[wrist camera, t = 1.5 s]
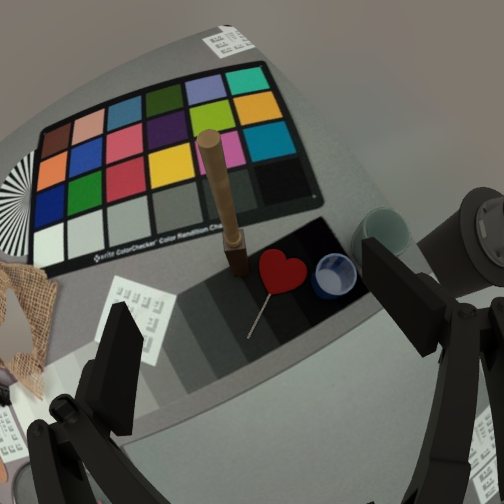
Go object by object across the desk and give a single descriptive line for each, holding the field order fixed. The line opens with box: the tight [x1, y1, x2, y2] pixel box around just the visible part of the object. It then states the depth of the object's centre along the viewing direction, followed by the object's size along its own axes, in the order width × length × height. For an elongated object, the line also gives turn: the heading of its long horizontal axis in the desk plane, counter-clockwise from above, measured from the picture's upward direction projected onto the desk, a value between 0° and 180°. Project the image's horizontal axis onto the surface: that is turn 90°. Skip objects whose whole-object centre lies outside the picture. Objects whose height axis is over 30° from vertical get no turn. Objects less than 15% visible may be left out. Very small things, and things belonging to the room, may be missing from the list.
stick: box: [197, 129, 242, 247], centre depth 29 cm, size 2×2×20 cm
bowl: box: [311, 253, 357, 300], centre depth 48 cm, size 6×6×5 cm
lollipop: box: [247, 249, 307, 339], centre depth 50 cm, size 8×1×15 cm
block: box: [222, 229, 250, 277], centre depth 45 cm, size 3×3×14 cm
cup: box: [351, 207, 411, 265], centre depth 47 cm, size 8×8×10 cm
